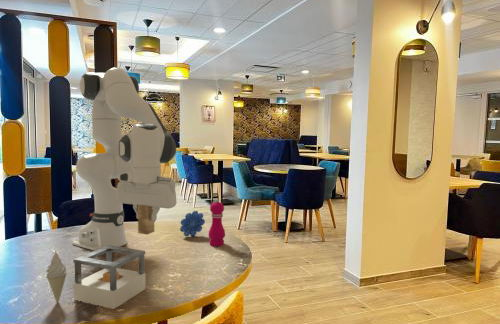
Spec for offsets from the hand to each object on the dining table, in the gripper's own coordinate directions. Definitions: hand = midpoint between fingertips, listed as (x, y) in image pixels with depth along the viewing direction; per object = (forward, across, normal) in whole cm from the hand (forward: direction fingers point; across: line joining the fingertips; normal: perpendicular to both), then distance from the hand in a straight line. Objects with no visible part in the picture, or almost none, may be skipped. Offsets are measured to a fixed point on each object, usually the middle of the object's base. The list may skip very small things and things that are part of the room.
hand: (146, 219), depth 115 cm
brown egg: (+20, +5, +11) cm, 23 cm away
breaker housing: (+21, +5, +11) cm, 24 cm away
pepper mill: (+21, -2, -46) cm, 50 cm away
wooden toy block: (+4, 0, 0) cm, 4 cm away
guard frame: (+16, +5, +11) cm, 20 cm away
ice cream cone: (+21, +14, +21) cm, 33 cm away
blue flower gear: (+21, +14, -52) cm, 58 cm away
